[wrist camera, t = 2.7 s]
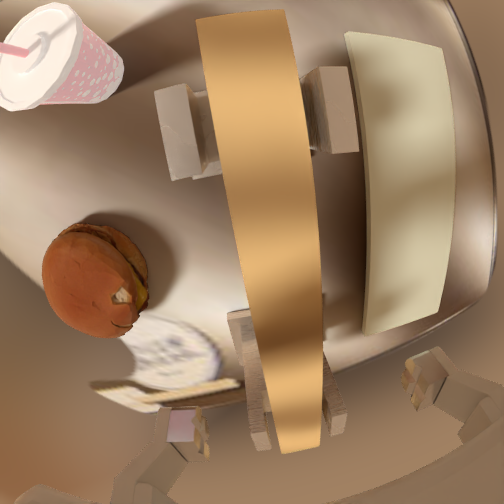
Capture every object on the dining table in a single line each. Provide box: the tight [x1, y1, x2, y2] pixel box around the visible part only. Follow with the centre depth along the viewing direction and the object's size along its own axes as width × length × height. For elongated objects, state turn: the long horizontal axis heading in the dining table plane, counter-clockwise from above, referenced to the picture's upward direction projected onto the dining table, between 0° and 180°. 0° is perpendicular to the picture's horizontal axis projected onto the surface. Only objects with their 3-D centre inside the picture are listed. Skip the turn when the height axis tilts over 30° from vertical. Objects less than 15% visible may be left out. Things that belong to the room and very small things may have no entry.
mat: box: [344, 32, 456, 337], centre depth 21 cm, size 28×10×1 cm, turn 9°
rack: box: [154, 66, 359, 451], centre depth 17 cm, size 24×8×12 cm, turn 9°
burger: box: [42, 223, 149, 338], centre depth 20 cm, size 10×9×5 cm
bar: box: [195, 9, 323, 454], centre depth 13 cm, size 26×3×3 cm, turn 9°
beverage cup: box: [0, 2, 124, 111], centre depth 9 cm, size 6×6×14 cm
